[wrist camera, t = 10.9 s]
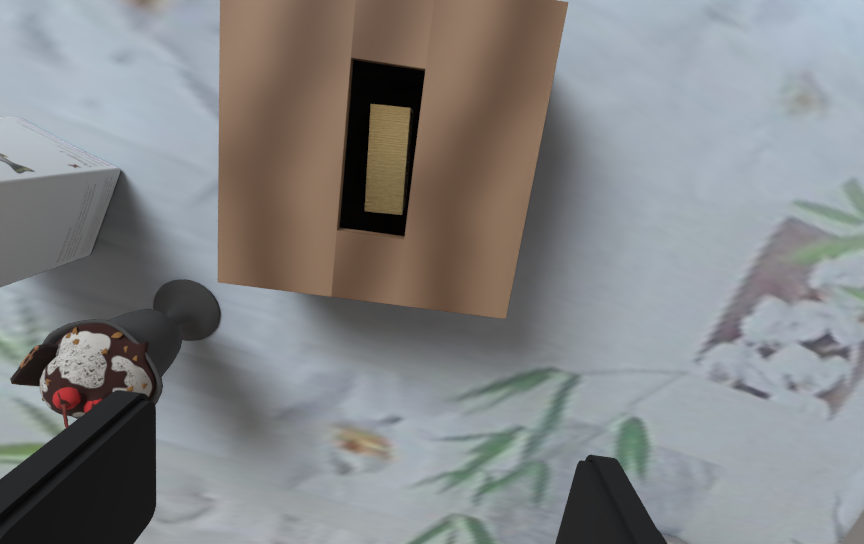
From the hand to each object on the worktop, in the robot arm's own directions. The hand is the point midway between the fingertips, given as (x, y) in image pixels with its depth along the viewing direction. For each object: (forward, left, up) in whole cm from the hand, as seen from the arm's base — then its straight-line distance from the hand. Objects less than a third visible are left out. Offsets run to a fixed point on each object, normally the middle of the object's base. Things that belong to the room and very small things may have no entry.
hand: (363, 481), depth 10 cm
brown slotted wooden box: (+2, -6, -25) cm, 26 cm away
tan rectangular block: (+2, -8, -22) cm, 24 cm away
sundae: (+16, +8, -25) cm, 31 cm away
